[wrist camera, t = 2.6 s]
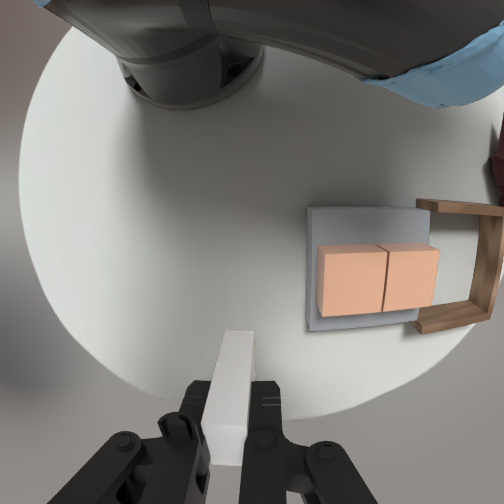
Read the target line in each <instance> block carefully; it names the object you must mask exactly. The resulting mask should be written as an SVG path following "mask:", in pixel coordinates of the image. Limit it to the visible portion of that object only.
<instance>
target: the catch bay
mask: <svg viewBox="0 0 504 504" xmlns="http://www.w3.org/2000/svg"><path fill="white" fill-rule="evenodd" d="M416 208H420V209H425V210H429V211H434V212H438V213H459V214H477V215H480V228H479V239H478V248H477V256H476V263H475V270H474V275H473V281H472V286H471V291H470V296H469V300H466V301H460V302H454V303H448V304H441V305H434V306H427V307H420V308H419V313H418V318H417V320H415V321H409V322H410V323H411V324H412V325H413V326H414V327H415V328H416V329H417V331H418V332H419V333H420V334H426V333H431V332H437V331H442V330H447V329H451V328H456V327H460V326H465V325H469V324H473V323H477V322H481V321H485V320H489V319H490V317H491V314H492V310H493V306H494V302H495V298H496V293H497V289H498V284H499V279H500V274H501V269H502V263H503V256H504V207H499V206H494V205H489V204H482V203H471V202H460V201H447V200H432V199H416Z"/></svg>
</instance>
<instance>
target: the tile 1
mask: <svg viewBox="0 0 504 504" xmlns="http://www.w3.org/2000/svg"><path fill="white" fill-rule="evenodd" d="M386 262H387V252H386V251H385V250H383V249H381V248H380V247H378V246H376V245H375V244H348V245H318V257H317V291H316V303H317V305H318V308H319V310H320V313H321V315H322V317H325V316H340V315H353V314H365V313H375V312H381V306H382V299H383V291H384V282H385V272H386Z"/></svg>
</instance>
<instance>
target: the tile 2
mask: <svg viewBox="0 0 504 504" xmlns="http://www.w3.org/2000/svg"><path fill="white" fill-rule="evenodd" d="M376 246H378V247H380V248H381V249H383V250H385V251H386V252H387V262H386V272H385V282H384V291H383V299H382V306H381V310H382V311H383V312H385V311H394V310H403V309H411V308H419V307H427V306H431V304H432V298H433V293H434V287H435V281H436V274H437V267H438V259H439V250H438V249H436V248H434V247H431V246H429V245H427V244H425V243H389V244H376Z"/></svg>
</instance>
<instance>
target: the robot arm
mask: <svg viewBox="0 0 504 504" xmlns="http://www.w3.org/2000/svg"><path fill="white" fill-rule="evenodd" d="M32 1H33V2H34V3H35V5H36V6H38V7H39V8H41V7H44V8H45V9H47V10H49V11H50V12H52V13H54V14H55V15H57V16H58V17H60V18H62V19H63V20H65V21H66V22H68V23H69V24H71V25H72V26H74V27H75V28H77V29H78V30H80V31H81V32H83V33H84V34H86V35H87V36H89V37H90V38H92V39H93V40H94V41H96V42H97V43H99V44H100V45H102V46H103V47H104V48H106V49H107V50H109V51H110V52H112V53H113V54H114V55H115V56H116V58H117V61H118V64H119V66H120V69H121V72H122V74H123V77H124V79H125V81H126V83H127V84H128V85H129V87H130V88H131V89H132V90H133V91H134V92H135V93H136V94H137V95H139V96H140V97H142V98H143V99H145V100H146V101H148V102H150V103H151V104H153V105H156V106H158V107H161V108H165V109H172V110H190V109H197V108H201V107H205V106H208V105H211V104H214V103H216V102H219V101H221V100H223V99H225V98H227V97H228V96H230V95H231V94H233V93H234V92H236V91H237V90H238V89H240V88H241V87H242V86H243V85H244V84H245V83H246V82H247V81H248V80H249V79H250V78H251V76H252V75H253V74H254V72H255V71H256V69H257V67H258V65H259V63H260V61H261V58H262V54H263V48H264V45H266V46H270V47H274V48H278V49H282V50H285V51H289V52H292V53H296V54H299V55H302V56H305V57H308V58H311V59H314V60H317V61H320V62H323V63H325V64H328V65H330V66H333V67H335V68H338V69H340V70H343V71H345V72H347V73H350V74H352V75H354V76H355V78H357V79H359V80H360V81H362V82H364V83H366V84H369V85H373V86H380V87H383V88H385V89H387V90H390V91H392V92H394V93H396V94H398V95H400V96H402V97H404V98H406V99H408V100H410V101H412V102H415V103H417V104H420V105H423V106H426V107H432V108H445V107H449V106H451V105H452V106H463V105H467V104H470V103H473V102H475V101H478V100H480V99H482V98H484V97H486V96H488V95H490V94H491V93H493V92H495V91H496V90H498V89H499V88H500V87H502V86H503V85H504V0H32ZM255 375H256V367H255V344H254V330H225V332H224V336H223V340H222V344H221V348H220V351H219V355H218V359H217V363H216V367H215V370H214V374H213V378H212V381H199V380H194V381H193V382H192V383H191V384H190V385H189V386H188V387H187V390H186V393H185V397H184V398H183V401H182V404H181V407H180V410H179V412H172V413H168V414H166V415H164V416H162V417H161V418H160V419H159V421H158V422H157V423H158V425H159V428H160V430H161V432H162V435H163V436H162V437H158V438H150V439H140V437H139V436H138V435H137V434H135V433H133V432H129V431H121V432H118V433H116V434H114V435H113V436H111V437H110V439H109V440H108V441H107V442H106V443H105V444H104V445H103V446H102V447H101V448H100V449H99V450H98V451H97V452H96V453H95V454H94V455H93V457H92V458H91V459H90V460H89V461H88V462H87V463H86V464H85V465H84V466H83V467H82V468H81V469H80V470H79V471H78V472H77V473H76V474H75V475H74V477H72V478H71V479H70V481H69V482H68V483H67V484H66V485H65V486H64V487H63V488H62V489H61V490H60V491H59V492H58V493H57V494H56V495H55V496H54V497H53V498H52V499H51V500H50V501H49V502H48V503H47V504H205V501H206V495H207V489H208V484H209V478H210V471H209V462H210V460H211V463H212V464H217V465H233V466H242V473H241V484H240V495H239V504H286V491H291V492H296V493H300V495H301V497H302V499H303V502H304V504H378V503H377V501H376V500H375V498H374V497H373V495H372V494H371V492H370V490H369V489H368V487H367V485H366V484H365V482H364V481H363V479H362V477H361V476H360V474H359V473H358V471H357V469H356V468H355V466H354V465H353V463H352V461H351V460H350V458H349V457H348V455H347V453H346V452H345V450H344V449H343V448H342V447H341V446H340V445H339V444H337V443H335V442H331V441H322V442H317V443H315V444H313V445H311V446H310V447H307V446H301V445H297V444H294V443H292V442H290V441H289V440H288V439H286V438H285V436H284V434H283V431H282V416H281V399H280V388H279V386H278V385H277V384H276V382H275V381H255Z"/></svg>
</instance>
